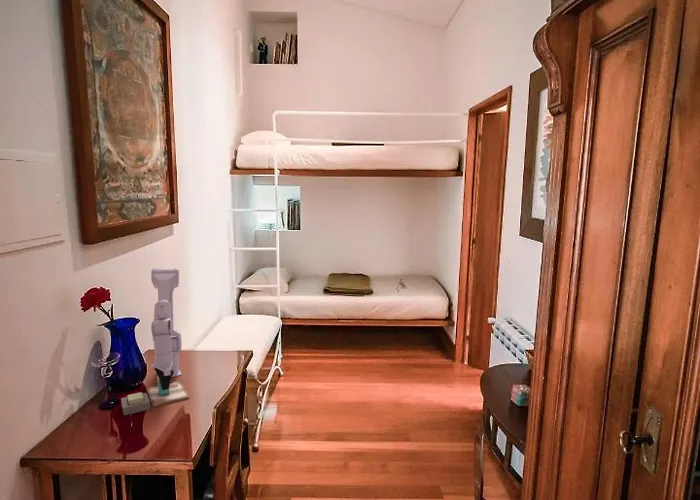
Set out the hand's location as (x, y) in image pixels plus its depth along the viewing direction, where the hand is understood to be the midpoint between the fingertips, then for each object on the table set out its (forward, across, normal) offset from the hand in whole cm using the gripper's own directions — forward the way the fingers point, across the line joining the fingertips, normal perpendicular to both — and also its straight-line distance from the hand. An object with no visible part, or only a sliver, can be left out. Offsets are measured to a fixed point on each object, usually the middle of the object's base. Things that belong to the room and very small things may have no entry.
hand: (164, 387), depth 153 cm
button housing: (+3, +4, -10) cm, 11 cm away
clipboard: (+3, -1, +1) cm, 4 cm away
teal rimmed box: (+2, 0, 0) cm, 2 cm away
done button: (+2, +4, -10) cm, 11 cm away
